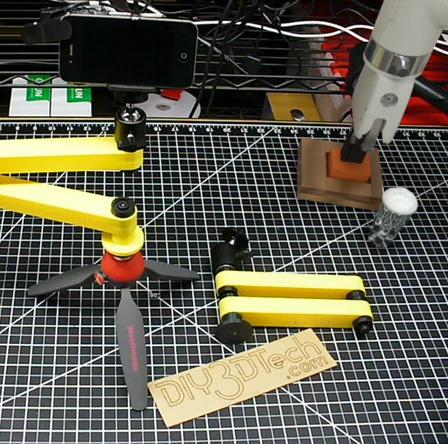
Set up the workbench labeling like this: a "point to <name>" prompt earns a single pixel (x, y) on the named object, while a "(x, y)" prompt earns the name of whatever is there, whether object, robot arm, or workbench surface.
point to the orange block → (347, 168)
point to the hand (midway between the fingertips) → (350, 158)
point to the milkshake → (391, 215)
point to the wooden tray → (331, 187)
